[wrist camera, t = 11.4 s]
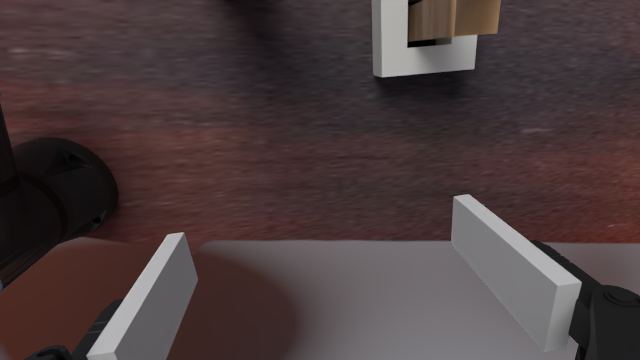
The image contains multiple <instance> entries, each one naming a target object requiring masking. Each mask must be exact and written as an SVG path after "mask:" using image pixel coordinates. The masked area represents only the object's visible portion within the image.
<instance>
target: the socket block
mask: <svg viewBox="0 0 640 360" xmlns="http://www.w3.org/2000/svg"><path fill="white" fill-rule="evenodd" d="M416 1H423V0H372V40H373V75H375V76H379V77H391V76H402V75H413V74H425V73H436V72H447V71H458V70H469V69H474V66H475V55H476V43H477V35H469V36H460V37H451V38H442V39H436V43H435V45H434V46H422V47H410V48H407V29H408V2H416Z"/></svg>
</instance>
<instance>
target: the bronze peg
mask: <svg viewBox="0 0 640 360" xmlns="http://www.w3.org/2000/svg"><path fill="white" fill-rule="evenodd" d="M500 1H501V0H423V1H421V2H418V3H416V4H414V5H411V6H409V7H408V29H407V42H411V41H422V40H433V39H442V38H451V37H460V36H469V35H481V34H492V33H497V28H498V19H499V10H500Z"/></svg>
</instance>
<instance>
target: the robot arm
mask: <svg viewBox="0 0 640 360" xmlns="http://www.w3.org/2000/svg"><path fill="white" fill-rule="evenodd" d="M0 96H1V92H0ZM116 203H117V188H116V184H115V181H114V178H113V176H112V174H111V172H110V171H109V169H108V168H107V166H106V165H105V164H104V163H103V161H102V160H101V159H100V158H99V157H97V156H96V155H95V154H94V153H93V152H91V151H90V150H88V149H87V148H85V147H83V146H81V145H79V144H77V143H75V142H72V141H69V140H65V139H61V138H49V137H48V138H38V139H34V140H31V141H28V142H25V143H22V144H19V145H17V146H15V147H13V148H12V147H11V144H10V140H9V136H8V132H7V128H6V124H5V120H4V116H3V112H2V108H1V104H0V291H2V290H3V289H4V288H5V287H6V286H8V285H9V284H10V283H11V282H13V281H14V280H15V279H16V278H17V277H19V276H20V275H21V274H22V273H23V272H25V271H26V270H27V269H28V268H29V267H31V265H33V264H34V263H35V262H37V261H38V260H39V259H40V258H42V257H43V256H44V255H45V254H46V253H48V252H49V251H50V250H51V249H52V248H54V247H55V246H56V245H57V244H60V243H62V242H66V241H69V240H72V239H75V238H78V237H81V236H84V235H87V234H89V233H91V232H93V231H94V230H96V229H97V228H98V227H100V226H101V225H102V224H103V223H104V222H105V221H106V220H108V219H109V217H110V216H111V215H112V213H113V211H114V209H115V207H116ZM451 244H452V246H453V247H454V248H455V249H456V250H457V252H458V253H459V254H460V255H461V256H462V257H463V259H464V260H465V261H466V262H467V263H468V265H469V266H470V267H471V268H472V269H473V270H474V272H475V273H476V274H477V275H478V276H479V277H480V278H481V280H482V281H483V282H484V283H485V284H486V286H487V287H488V288H489V289H490V290H491V291H492V292H493V294H494V295H495V296H496V297H497V298H498V300H499V301H500V302H501V303H502V304H503V305H504V307H505V308H506V309H507V310H508V311H509V312H510V313H511V315H512V316H513V317H514V318H515V319H516V321H517V322H518V323H519V324H520V325H521V326H522V327H523V329H524V330H525V331H526V332H527V333H528V335H529V336H530V337H531V338H532V339H533V340H534V342H535V343H536V344H537V345H538V346H539V348H540V349H541V350H542V351H543V352H549V351H556V350H562V349H566V346H567V341H568V337H569V335H570V336H571V337H572V338H573V339H574V340H575V341H576V342H577V343H578V344H579V345H578V349H577V353H576V357H575V360H640V296H639V295H637V294H635V293H633V292H631V291H629V290H627V289H624V288H621V287H618V286H611V285H601V284H600V283H599V282H597V281H596V280H595V279H593V278H592V277H591V276H589V275H588V274H587V273H585V272H584V271H583V270H581V269H580V268H578V267H577V266H576V265H574V264H573V263H570V261H569V260H568V259H566V258H565V257H564V256H561V255H560V254H559V253H558V252H557V251H555V250H554V249H552V248H551V247H550V246H548V245H545V244H543V243H541V242H539V241H536V240H532V241H528V240H527V239H526V238H524V237H523V236H522V235H520V234H519V233H518V232H517V231H515V230H514V229H513V228H511V227H510V226H509V225H508V224H506V223H505V222H504V221H502V220H501V219H500V218H499V217H497V216H496V215H495V214H493V213H492V212H491V211H490V210H488V209H487V208H486V207H484V206H483V205H482V204H481V203H479V202H478V201H477V200H475V199H474V198H473V197H472V196H470V195H469V194H468V195H460V196H454V200H453V218H452V236H451ZM197 281H198V278H197V275H196V271H195V267H194V264H193V261H192V257H191V254H190V250H189V247H188V244H187V240H186V237H185V234H184V232H182V233H175V234H168V235H167V236H166V238H165V239H164V241H163V242H162V244H161V245H160V247H159V248H158V250H157V251H156V253H155V254H154V256H153V257H152V259H151V260H150V262H149V263H148V265H147V266H146V268H145V269H144V271H143V272H142V274H141V275H140V276H139V278H138V280H137V281H136V283H135V284H134V285H133V287H132V288H131V290H130V292H129V293H128V295H127V296H126V297H125V299H121V300H115V301H114V302H113V303H111V304H110V305H109V306H108V307H107V308H106V309H104V310H103V311H102V312H101V314H100V315H99V316H98V318H97V319H96V321H95V322H94V324H93V325H92V326H91V328H90V329H89V330H88V333H87V334H86V335H85V336H84V337H83V339H82V340H81V341H80V343H79V344H78V346H77V347H76V348H75V350H74V351H73V352H72V354H71V355H70V353H69V351H68V349H67V348H66V347H65V346H61V345H55V346H50V347H47V348H44V349H42V350H40V351H37V352H35V353H34V354H32V355H31V356H29V357H28V358H26V359H24V360H166V358H167V356H168V353H169V351H170V348H171V346H172V343H173V341H174V338H175V336H176V333H177V331H178V328H179V326H180V323H181V321H182V318H183V316H184V313H185V311H186V308H187V306H188V303H189V301H190V298H191V296H192V293H193V291H194V288H195V286H196V283H197Z"/></svg>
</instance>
